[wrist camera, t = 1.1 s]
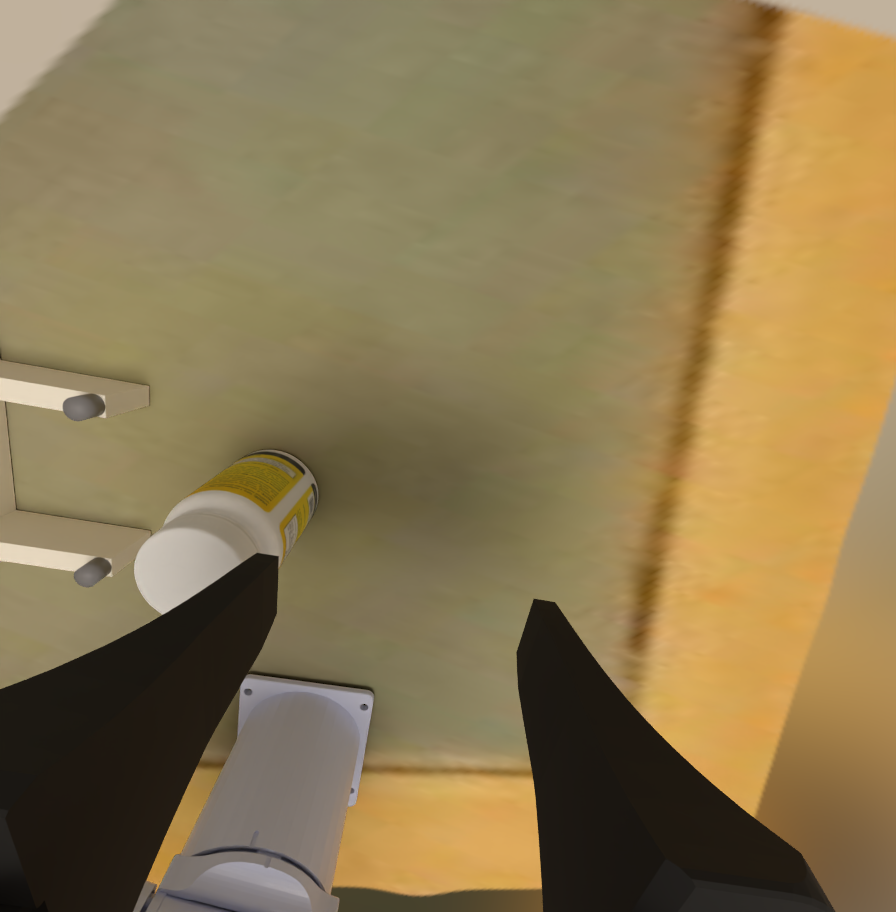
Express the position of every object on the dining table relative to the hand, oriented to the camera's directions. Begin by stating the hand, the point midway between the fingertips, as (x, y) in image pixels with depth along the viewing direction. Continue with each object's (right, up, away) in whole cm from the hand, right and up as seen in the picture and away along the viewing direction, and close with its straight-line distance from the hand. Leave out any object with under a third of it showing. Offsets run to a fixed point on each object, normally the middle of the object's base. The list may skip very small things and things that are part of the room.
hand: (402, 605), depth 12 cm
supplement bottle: (-8, +2, +11) cm, 14 cm away
